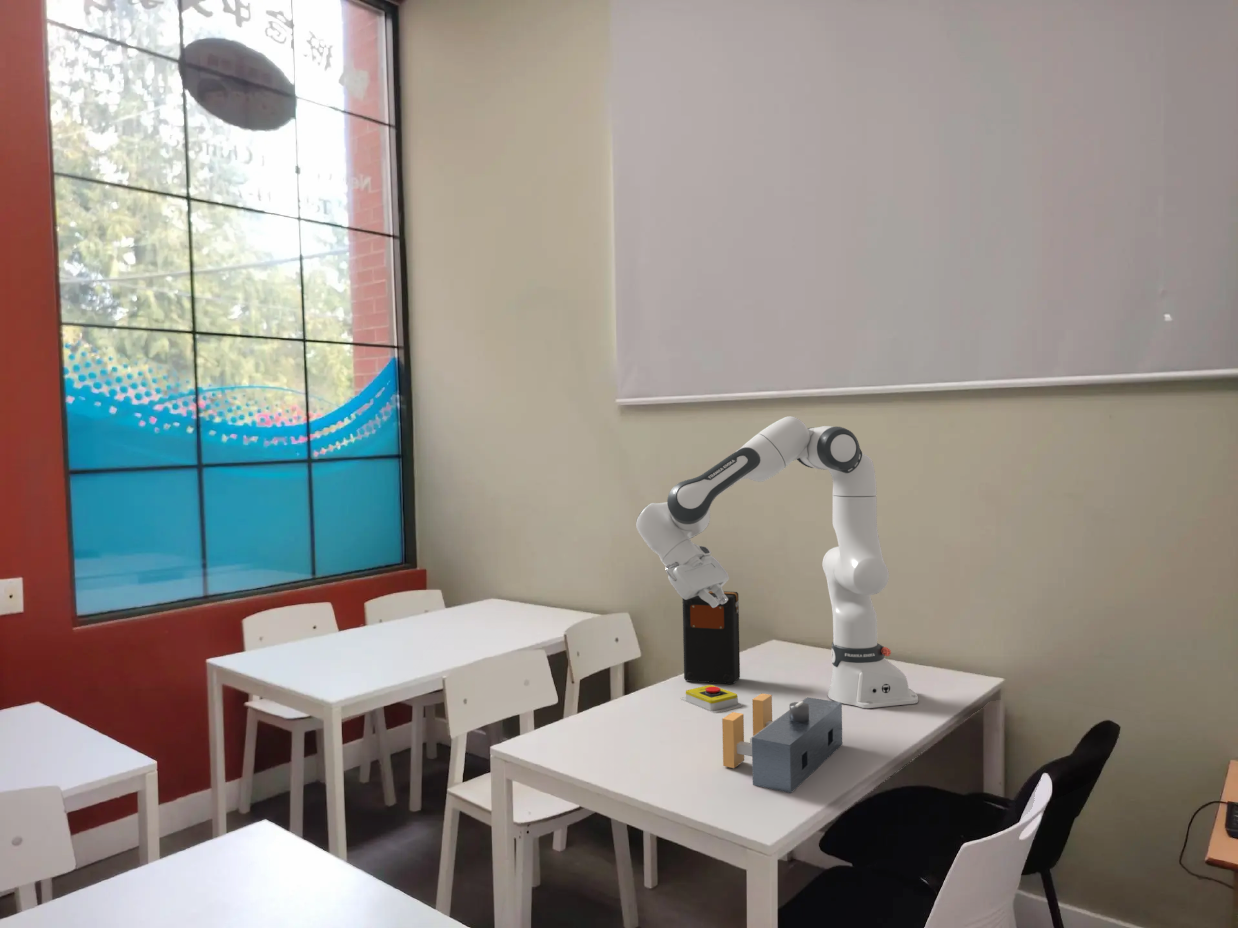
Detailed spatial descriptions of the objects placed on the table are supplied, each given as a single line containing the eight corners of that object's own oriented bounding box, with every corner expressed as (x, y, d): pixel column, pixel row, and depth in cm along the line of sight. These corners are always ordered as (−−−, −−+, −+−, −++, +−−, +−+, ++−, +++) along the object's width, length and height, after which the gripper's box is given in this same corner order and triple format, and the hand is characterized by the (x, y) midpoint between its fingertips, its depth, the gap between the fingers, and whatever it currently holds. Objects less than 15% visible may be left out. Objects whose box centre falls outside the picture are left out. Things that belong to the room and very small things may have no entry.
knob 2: (753, 743, 196) (752, 699, 196) (762, 736, 200) (761, 693, 200) (815, 755, 188) (814, 709, 188) (823, 747, 192) (822, 702, 192)
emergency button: (715, 697, 218) (678, 684, 231) (715, 715, 218) (678, 700, 231) (743, 691, 223) (706, 677, 236) (743, 707, 224) (706, 693, 236)
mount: (750, 784, 175) (750, 737, 174) (806, 737, 200) (805, 696, 199) (790, 793, 170) (789, 744, 170) (842, 744, 195) (841, 702, 195)
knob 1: (723, 765, 183) (722, 718, 183) (733, 757, 188) (732, 711, 187) (788, 779, 175) (787, 730, 175) (797, 771, 180) (797, 722, 179)
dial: (786, 720, 184) (786, 704, 184) (794, 714, 187) (793, 699, 187) (804, 723, 182) (804, 707, 181) (811, 717, 185) (811, 701, 185)
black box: (742, 677, 249) (740, 590, 248) (735, 686, 241) (734, 596, 240) (688, 673, 254) (686, 588, 253) (680, 682, 246) (678, 593, 245)
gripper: (670, 557, 203) (709, 603, 198) (711, 546, 220) (747, 588, 215) (654, 575, 205) (692, 620, 200) (695, 563, 222) (731, 604, 217)
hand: (721, 603), depth 208 cm, fingers open, 3 cm apart
